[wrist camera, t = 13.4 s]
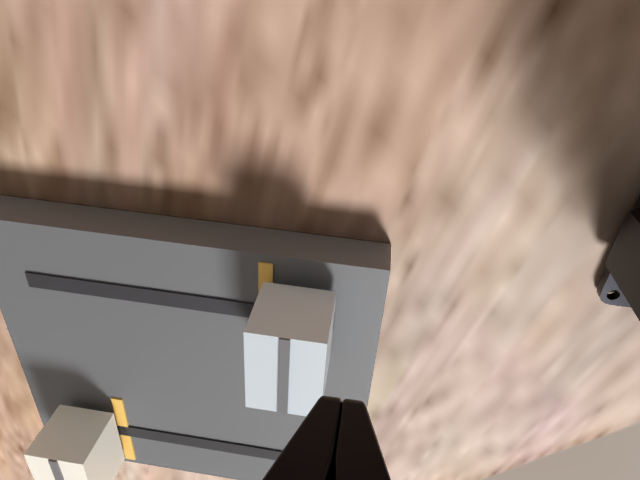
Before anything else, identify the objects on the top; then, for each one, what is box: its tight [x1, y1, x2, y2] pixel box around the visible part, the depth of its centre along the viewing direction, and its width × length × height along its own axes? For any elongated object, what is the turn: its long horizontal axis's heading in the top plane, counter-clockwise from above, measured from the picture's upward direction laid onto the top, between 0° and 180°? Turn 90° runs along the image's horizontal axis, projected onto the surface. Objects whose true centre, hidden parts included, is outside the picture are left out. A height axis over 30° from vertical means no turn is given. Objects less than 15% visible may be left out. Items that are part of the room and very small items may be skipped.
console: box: [0, 195, 391, 480], centre depth 25 cm, size 18×16×2 cm
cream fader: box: [24, 405, 125, 480], centre depth 26 cm, size 3×4×3 cm
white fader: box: [243, 282, 336, 416], centre depth 20 cm, size 3×4×3 cm
